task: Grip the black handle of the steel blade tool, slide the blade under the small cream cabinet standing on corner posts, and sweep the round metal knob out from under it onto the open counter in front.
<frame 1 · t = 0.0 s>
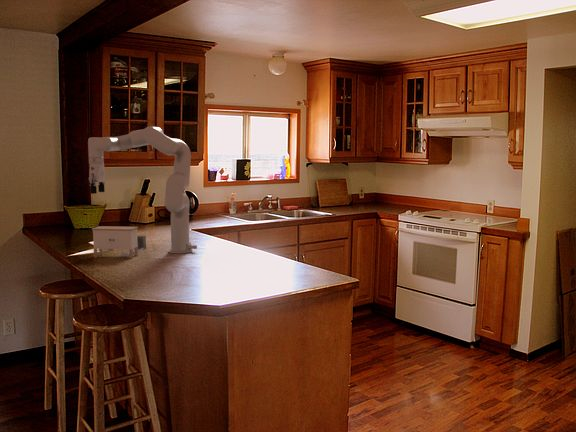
hand: (97, 192, 308), 31 cm above the countertop, tool pointing down, fingers open, 9 cm apart
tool: (141, 248, 315), on the countertop
round metal knob: (125, 256, 294), on the countertop
cabinet: (116, 256, 294), on the countertop
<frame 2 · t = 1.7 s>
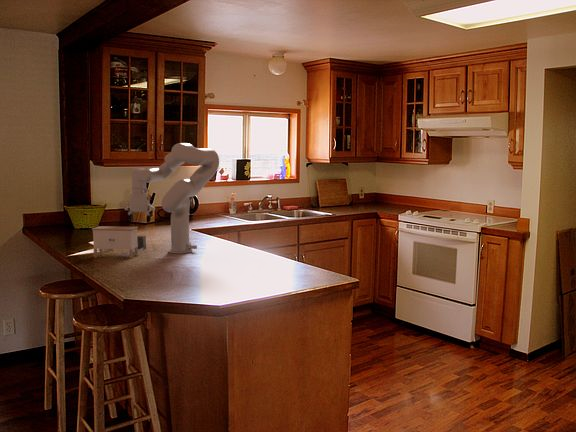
hand: (139, 222, 313), 15 cm above the countertop, tool pointing down, fingers open, 9 cm apart
nothing on the countertop moved.
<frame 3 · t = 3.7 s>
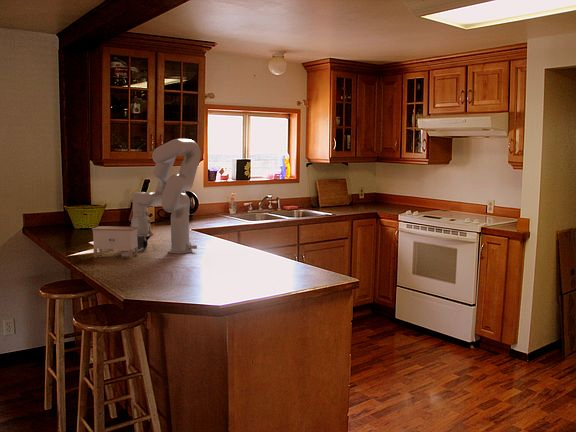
hand: (141, 247, 315), 1 cm above the countertop, tool pointing down, fingers closed on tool, 4 cm apart
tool: (141, 248, 315), on the countertop, touching gripper
everything else where it was.
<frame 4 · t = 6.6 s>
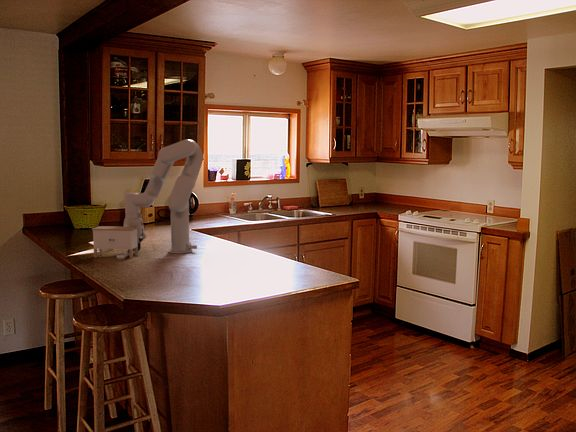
hand: (134, 249, 304), 1 cm above the countertop, tool pointing down, fingers closed on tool, 4 cm apart
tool: (134, 251, 305), point 1 cm above the countertop, touching gripper, round metal knob
round metal knob: (121, 258, 288), on the countertop, touching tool
everything else where it was.
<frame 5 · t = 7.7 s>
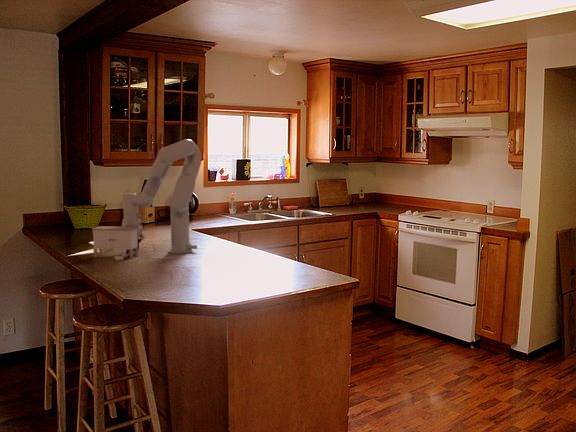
hand: (132, 250, 302), 1 cm above the countertop, tool pointing down, fingers closed on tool, 4 cm apart
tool: (132, 252, 302), on the countertop, touching gripper, round metal knob
round metal knob: (119, 260, 285), on the countertop, touching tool
everything else where it was.
when the fingers open (1 cm above the countertop, at t = 8.8 s): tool stays where it is, on the countertop.
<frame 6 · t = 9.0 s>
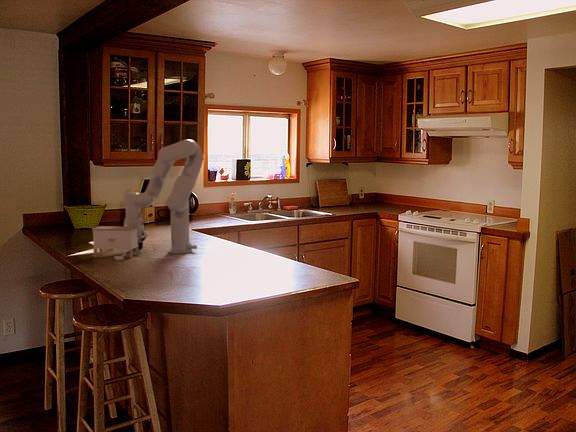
hand: (134, 249, 305), 2 cm above the countertop, tool pointing down, fingers open, 6 cm apart
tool: (134, 252, 305), on the countertop
round metal knob: (119, 260, 285), on the countertop
everything else where it was.
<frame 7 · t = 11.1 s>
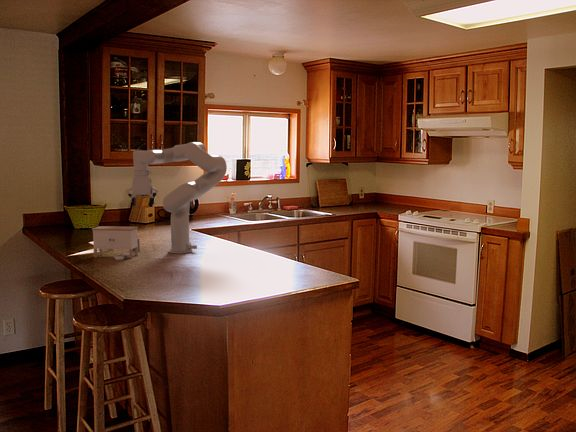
hand: (143, 205, 309), 24 cm above the countertop, tool pointing down, fingers open, 9 cm apart
nothing on the countertop moved.
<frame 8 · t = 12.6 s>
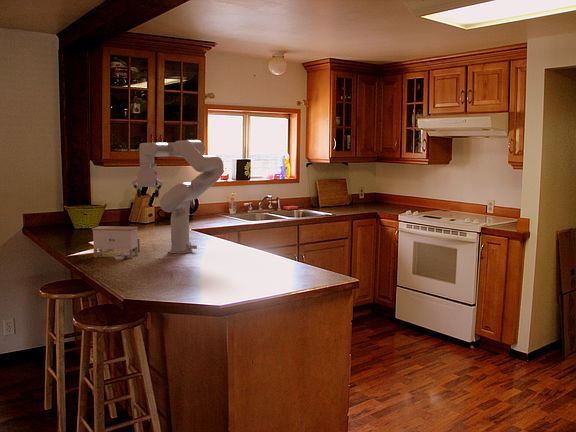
hand: (148, 197, 313), 28 cm above the countertop, tool pointing down, fingers open, 9 cm apart
nothing on the countertop moved.
at the end: round metal knob inside the target area (3.1 cm from its centre), on the countertop; round metal knob touching countertop; the gripper is holding nothing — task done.
